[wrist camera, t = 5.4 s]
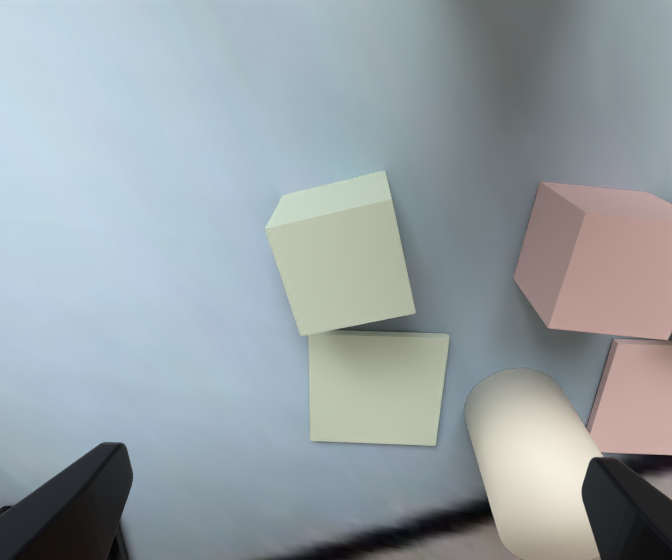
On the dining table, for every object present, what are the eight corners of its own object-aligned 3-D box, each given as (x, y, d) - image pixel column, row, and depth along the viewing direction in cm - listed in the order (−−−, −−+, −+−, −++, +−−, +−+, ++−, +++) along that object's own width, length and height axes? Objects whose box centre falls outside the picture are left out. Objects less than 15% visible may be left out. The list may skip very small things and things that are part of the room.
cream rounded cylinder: (554, 448, 23) (614, 568, 18) (458, 444, 23) (488, 563, 18) (575, 370, 21) (650, 478, 16) (470, 366, 21) (509, 472, 16)
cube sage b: (405, 265, 19) (415, 313, 16) (310, 285, 20) (300, 336, 16) (384, 169, 18) (392, 199, 14) (283, 194, 18) (265, 228, 15)
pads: (709, 450, 23) (714, 456, 22) (310, 434, 23) (310, 440, 23) (757, 343, 20) (765, 348, 20) (309, 329, 21) (308, 334, 20)
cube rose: (610, 287, 20) (667, 340, 16) (512, 277, 20) (547, 328, 16) (646, 191, 18) (719, 226, 14) (539, 180, 18) (585, 212, 14)
